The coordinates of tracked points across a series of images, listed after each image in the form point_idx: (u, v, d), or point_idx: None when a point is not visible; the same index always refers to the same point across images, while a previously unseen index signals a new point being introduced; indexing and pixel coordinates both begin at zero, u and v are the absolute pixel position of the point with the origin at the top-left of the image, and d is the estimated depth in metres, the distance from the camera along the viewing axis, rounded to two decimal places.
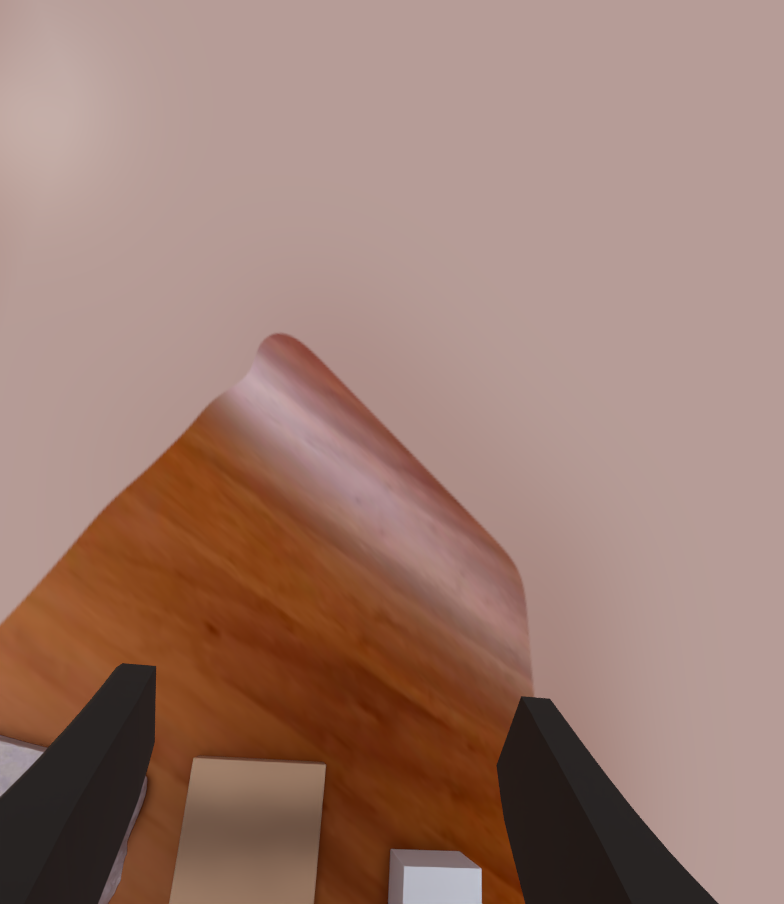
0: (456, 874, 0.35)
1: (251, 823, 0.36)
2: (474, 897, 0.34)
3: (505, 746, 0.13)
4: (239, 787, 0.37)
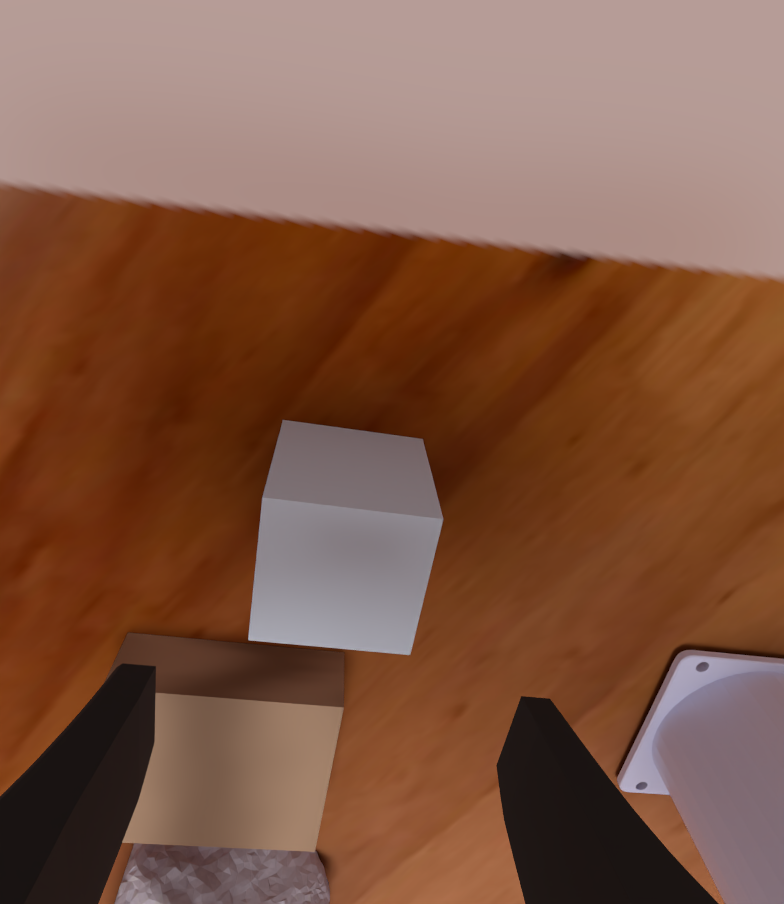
0: (270, 548, 0.15)
1: (198, 778, 0.22)
2: (317, 518, 0.15)
3: (505, 746, 0.13)
4: (144, 792, 0.22)
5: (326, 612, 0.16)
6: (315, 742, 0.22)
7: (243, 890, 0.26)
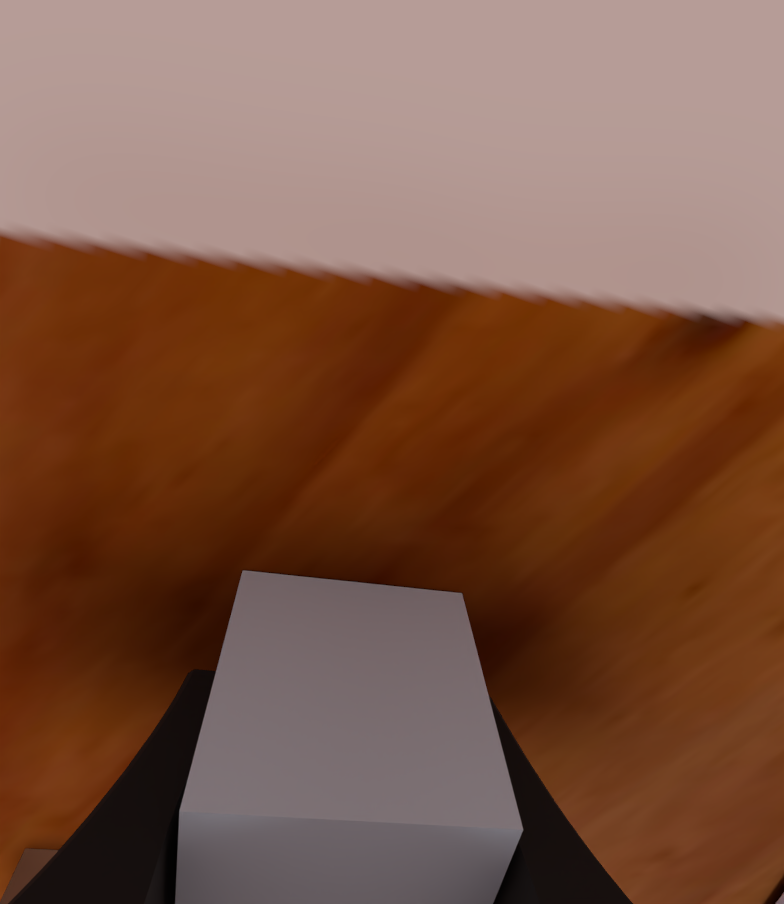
0: (200, 881, 0.08)
1: None
2: (286, 837, 0.08)
3: None
4: None
5: None
6: None
7: None
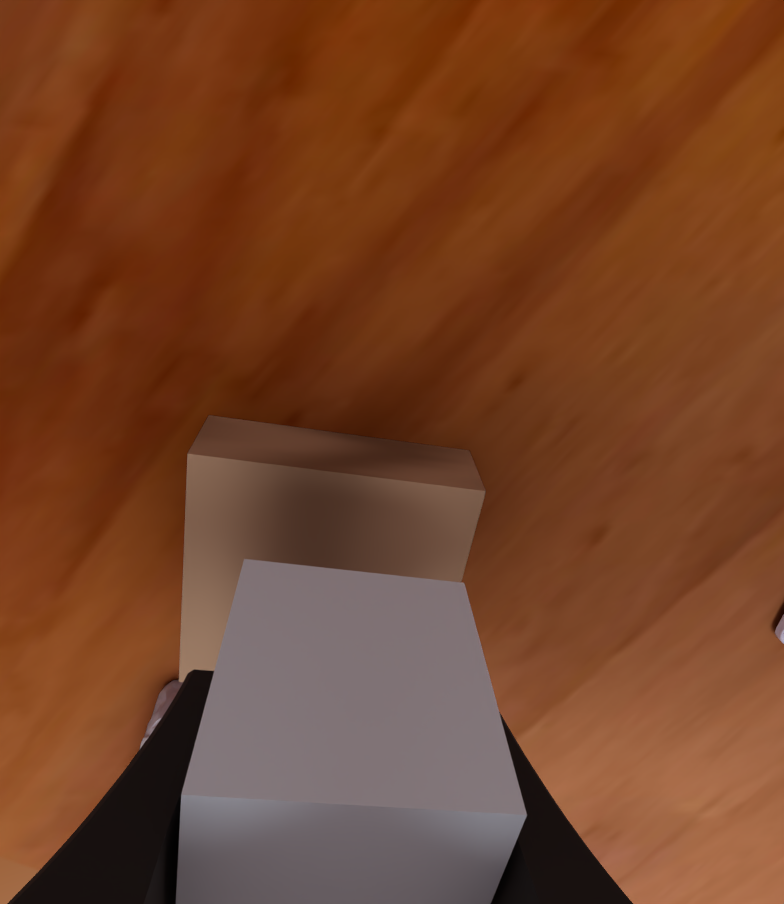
0: (202, 866, 0.08)
1: None
2: (289, 821, 0.08)
3: None
4: None
5: None
6: (445, 543, 0.17)
7: None
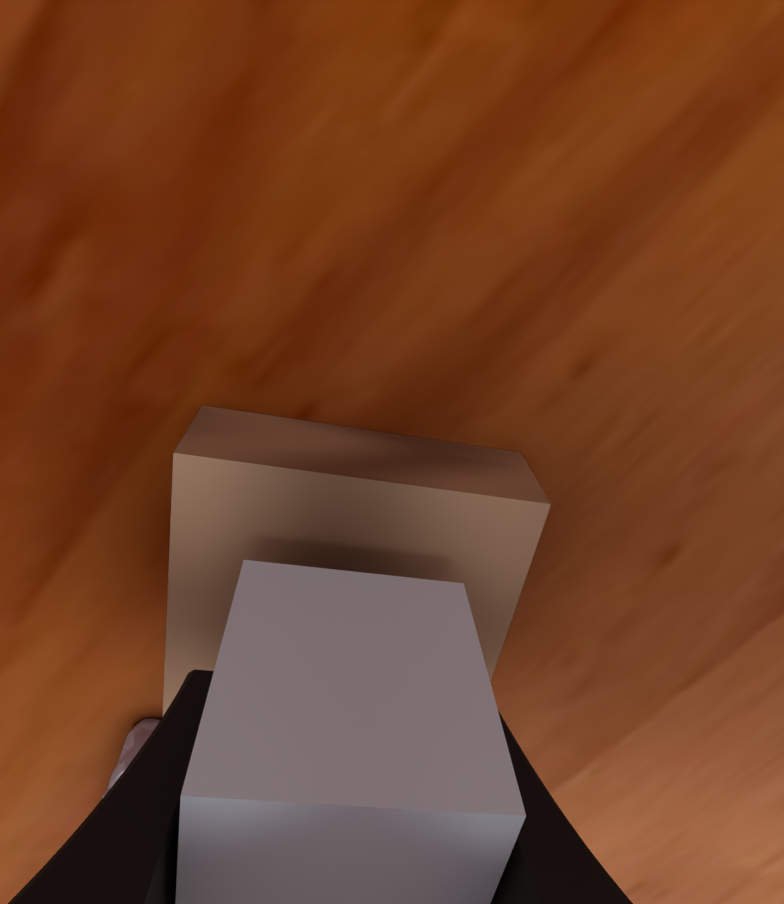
0: (201, 867, 0.08)
1: None
2: (288, 822, 0.08)
3: None
4: None
5: None
6: (496, 568, 0.14)
7: None
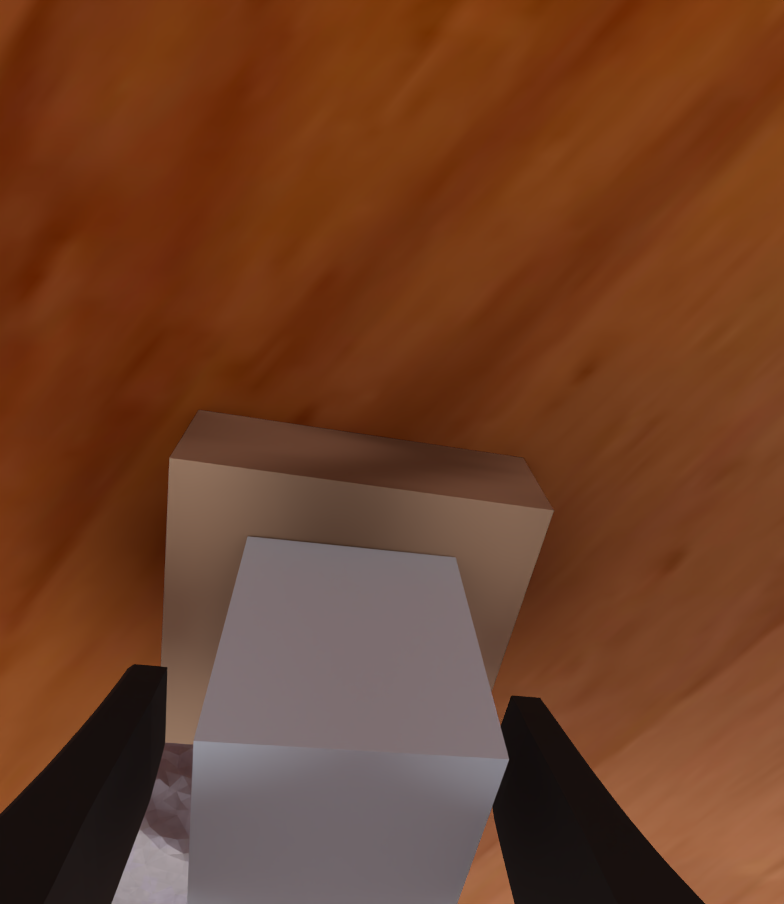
0: (213, 809, 0.09)
1: None
2: (291, 766, 0.09)
3: None
4: None
5: (313, 887, 0.10)
6: (498, 575, 0.14)
7: None
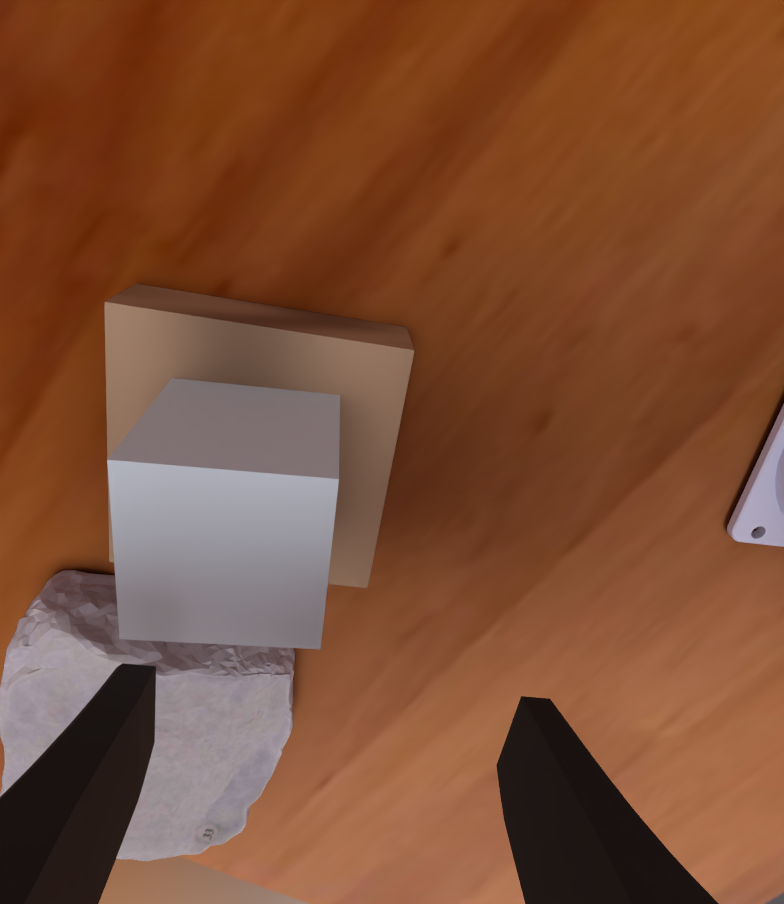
0: (127, 524, 0.13)
1: None
2: (180, 484, 0.12)
3: (505, 746, 0.13)
4: None
5: (210, 601, 0.13)
6: (376, 408, 0.17)
7: None
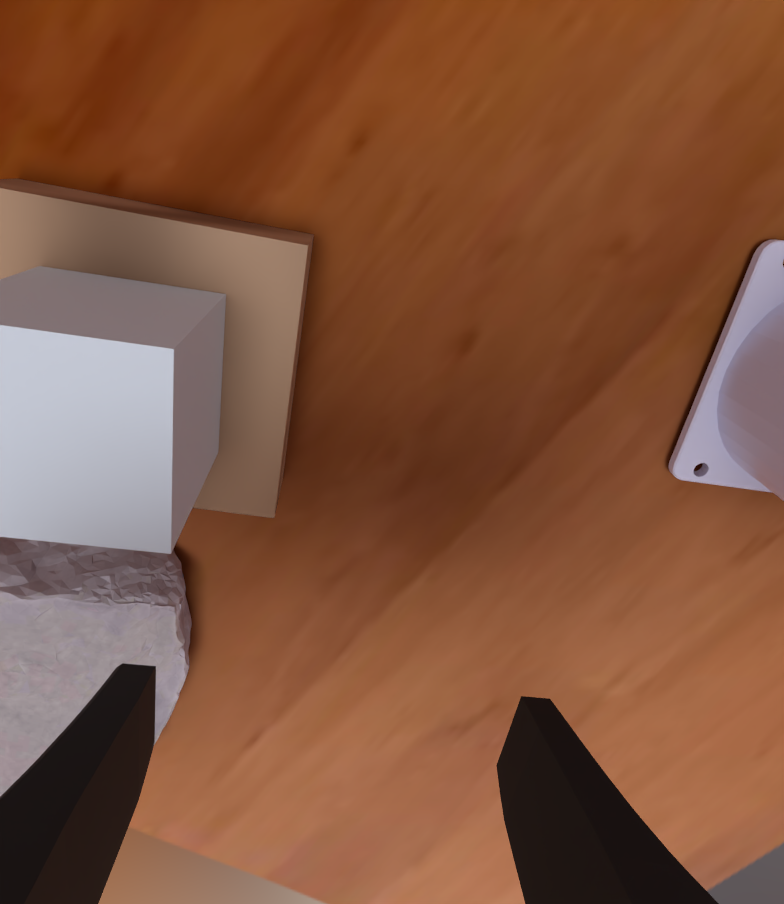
0: None
1: None
2: None
3: (505, 746, 0.13)
4: None
5: (41, 490, 0.12)
6: (270, 312, 0.16)
7: (53, 562, 0.19)
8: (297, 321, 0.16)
